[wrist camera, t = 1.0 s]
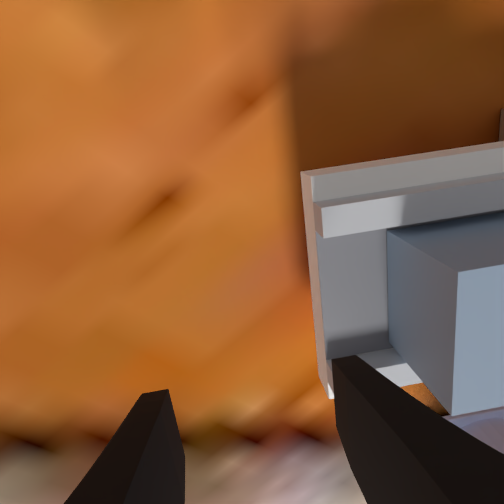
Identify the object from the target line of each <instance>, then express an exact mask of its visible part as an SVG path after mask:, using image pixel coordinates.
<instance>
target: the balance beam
mask: <svg viewBox="0 0 504 504" xmlns="http://www.w3.org/2000/svg"><path fill="white" fill-rule="evenodd" d="M300 174H301V185H302V196H303V207H304V218H305V229H306V240H307V251H308V262H309V273H310V284H311V295H312V306H313V316H314V327H315V338H316V349H317V360H318V371H319V378H320V380H321V382H322V384H323V387H324V389H325V391H326V393H327V395H328V398H329V399H333V398H334V389H333V376H332V363H331V359H335V358H341V357H346V356H352V355H357V356H358V357H360V358H361V359H362V360H364V361H365V362H366V363H368V364H369V365H370V366H372V367H373V368H374V369H376V370H377V371H378V372H380V373H381V374H382V375H384V376H385V377H386V378H388V379H389V380H390V381H392V382H393V383H395V384H396V385H397V386H399V387H401V386H406V385H412V384H417V383H422V381H421V379H420V378H419V377H418V376H417V375H416V374H415V372H414V371H413V370H412V369H411V368H410V366H409V365H408V364H407V363H406V362H405V360H404V359H403V358H402V357H401V356H400V355H399V353H398V352H397V351H396V350H395V349H394V347H393V346H392V345H391V344H390V343H389V323H388V270H387V231H389V230H395V229H401V228H408V227H414V226H420V225H426V224H432V223H438V222H444V221H451V220H457V219H463V218H469V217H475V216H481V215H487V214H493V213H500V212H504V109H501V117H500V130H499V142H493V143H486V144H480V145H473V146H467V147H460V148H453V149H447V150H440V151H433V152H427V153H420V154H414V155H407V156H400V157H394V158H387V159H380V160H374V161H367V162H361V163H354V164H347V165H341V166H334V167H327V168H321V169H314V170H308V171H301V172H300Z"/></svg>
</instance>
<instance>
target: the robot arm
mask: <svg viewBox="0 0 504 504" xmlns="http://www.w3.org/2000/svg"><path fill="white" fill-rule="evenodd" d="M331 363H332V376H333V389H334V402H335V415H336V427H337V430H338V433H339V436H340V439H341V442H342V444H343V447H344V450H345V453H346V456H347V459H348V461H349V464H350V467H351V470H352V472H353V474H354V476H355V478H356V480H357V483H358V485H359V487H360V489H361V491H362V493H363V495H364V497H365V500H366V502H367V504H504V406H501V407H496V408H491V409H486V410H481V411H476V412H471V413H466V414H461V415H455V416H451V415H448V416H440V415H439V414H437V413H436V412H434V411H433V410H431V409H430V408H428V407H427V406H425V405H424V404H423V403H421V402H420V401H418V400H417V399H415V398H414V397H412V396H411V395H410V394H408V393H407V392H405V391H404V390H403V389H401V388H400V387H399V386H397V385H396V384H395V383H393V382H392V381H390V380H389V379H388V378H386V377H385V376H384V375H382V374H381V373H380V372H378V371H377V370H376V369H374V368H373V367H372V366H370V365H369V364H368V363H366V362H365V361H364V360H362V359H361V358H360V357H358V356H357V355H352V356H346V357H341V358H335V359H331ZM64 504H185V454H184V450H183V446H182V442H181V438H180V434H179V430H178V426H177V422H176V418H175V414H174V410H173V406H172V402H171V398H170V394H169V390H168V389H166V390H160V391H155V392H149V393H144V394H142V395H141V396H140V397H139V399H138V400H137V402H136V403H135V405H134V406H133V407H132V409H131V410H130V412H129V413H128V415H127V416H126V418H125V419H124V421H123V422H122V424H121V425H120V427H119V428H118V430H117V431H116V433H115V434H114V436H113V437H112V439H111V440H110V442H109V443H108V444H107V446H106V447H105V449H104V450H103V451H102V453H101V454H100V456H99V457H98V459H97V460H96V461H95V463H94V464H93V466H92V467H91V468H90V470H89V471H88V473H87V474H86V475H85V477H84V478H83V479H82V481H81V482H80V483H79V485H78V486H77V487H76V488H75V490H74V491H73V492H72V494H71V495H70V496H69V497H68V499H67V500H66V501H65V503H64Z"/></svg>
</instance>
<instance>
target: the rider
mask: <svg viewBox="0 0 504 504" xmlns="http://www.w3.org/2000/svg"><path fill="white" fill-rule="evenodd" d="M387 270H388V323H389V343H390V344H391V345H392V346H393V347H394V349H395V350H396V351H397V352H398V353H399V355H400V356H401V357H402V358H403V359H404V360H405V362H406V363H407V364H408V365H409V366H410V368H411V369H412V370H413V371H414V372H415V374H416V375H417V376H418V377H419V378H420V379H421V381H422V382H423V383H424V384H425V385H426V387H427V388H428V389H429V390H430V391H431V393H432V394H433V395H434V396H435V397H436V398H437V400H438V401H439V402H440V403H441V404H442V406H443V407H444V408H445V409H446V410H447V411H448V413H449V414H450V415H451V416H455V415H461V414H466V413H471V412H476V411H481V410H486V409H491V408H496V407H501V406H504V212H500V213H493V214H487V215H481V216H475V217H469V218H463V219H457V220H451V221H444V222H438V223H432V224H426V225H420V226H414V227H408V228H401V229H395V230H389V231H387Z"/></svg>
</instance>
